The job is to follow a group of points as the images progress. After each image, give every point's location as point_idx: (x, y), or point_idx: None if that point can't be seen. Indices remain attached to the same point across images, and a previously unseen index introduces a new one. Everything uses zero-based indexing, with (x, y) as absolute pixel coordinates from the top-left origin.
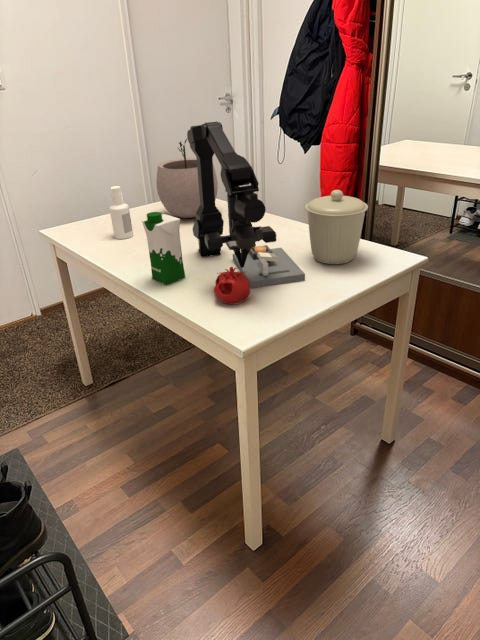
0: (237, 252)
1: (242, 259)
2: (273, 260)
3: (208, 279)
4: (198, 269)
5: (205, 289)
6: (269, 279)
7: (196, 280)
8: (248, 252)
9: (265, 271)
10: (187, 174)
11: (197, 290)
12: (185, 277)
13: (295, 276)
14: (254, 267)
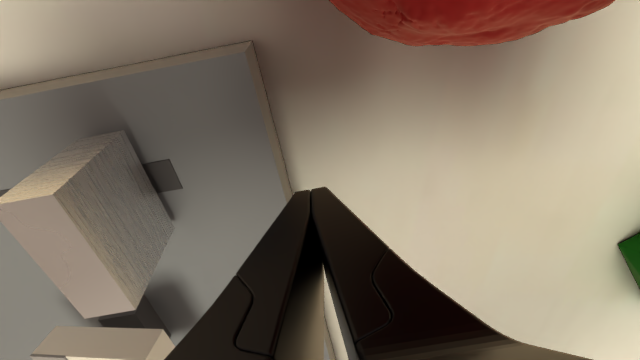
0: (426, 331)
1: (307, 250)
2: (71, 331)
3: (506, 214)
4: (516, 315)
5: (577, 76)
6: (64, 85)
7: (575, 210)
8: (183, 343)
9: (79, 154)
10: None
11: (635, 68)
12: (618, 245)
13: None
14: (222, 285)
